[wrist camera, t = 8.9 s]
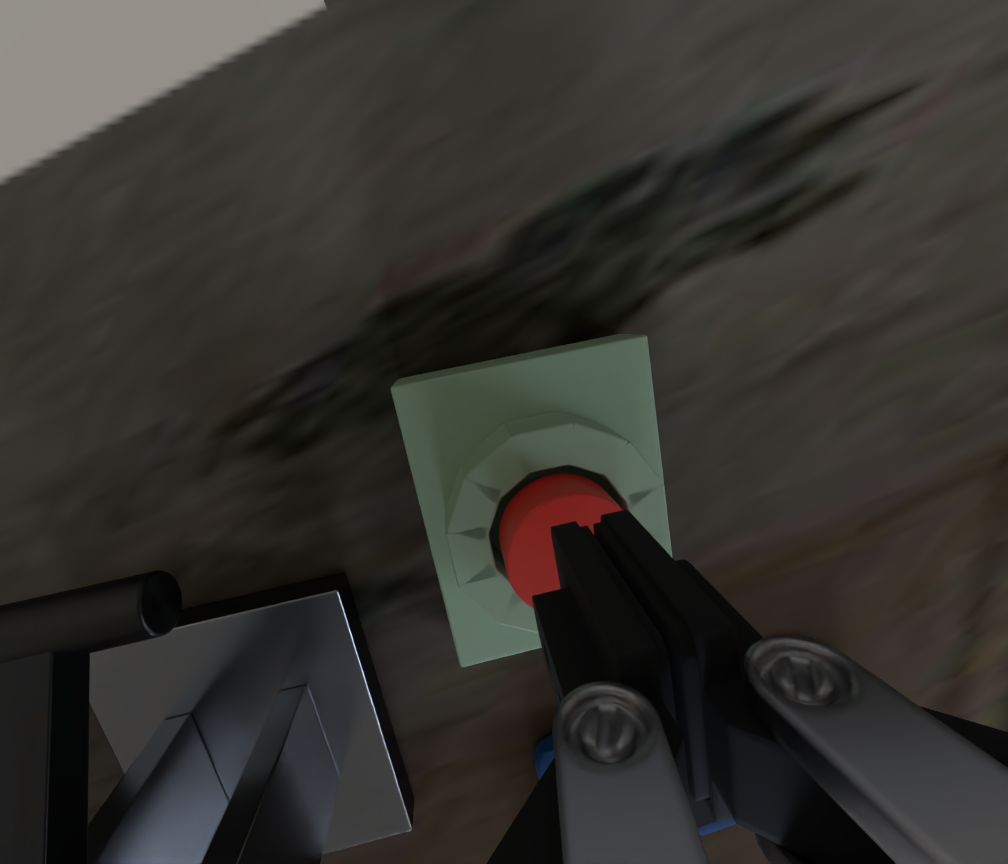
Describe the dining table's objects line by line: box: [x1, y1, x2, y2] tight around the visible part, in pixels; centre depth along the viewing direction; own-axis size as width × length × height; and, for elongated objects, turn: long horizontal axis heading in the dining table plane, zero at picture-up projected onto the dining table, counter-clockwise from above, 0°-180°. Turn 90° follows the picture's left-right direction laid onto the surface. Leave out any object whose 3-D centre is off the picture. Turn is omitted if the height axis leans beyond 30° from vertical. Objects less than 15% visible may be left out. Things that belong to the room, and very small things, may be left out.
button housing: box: [391, 334, 672, 667], centre depth 16 cm, size 10×8×4 cm
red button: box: [499, 473, 623, 609], centre depth 13 cm, size 4×4×2 cm
